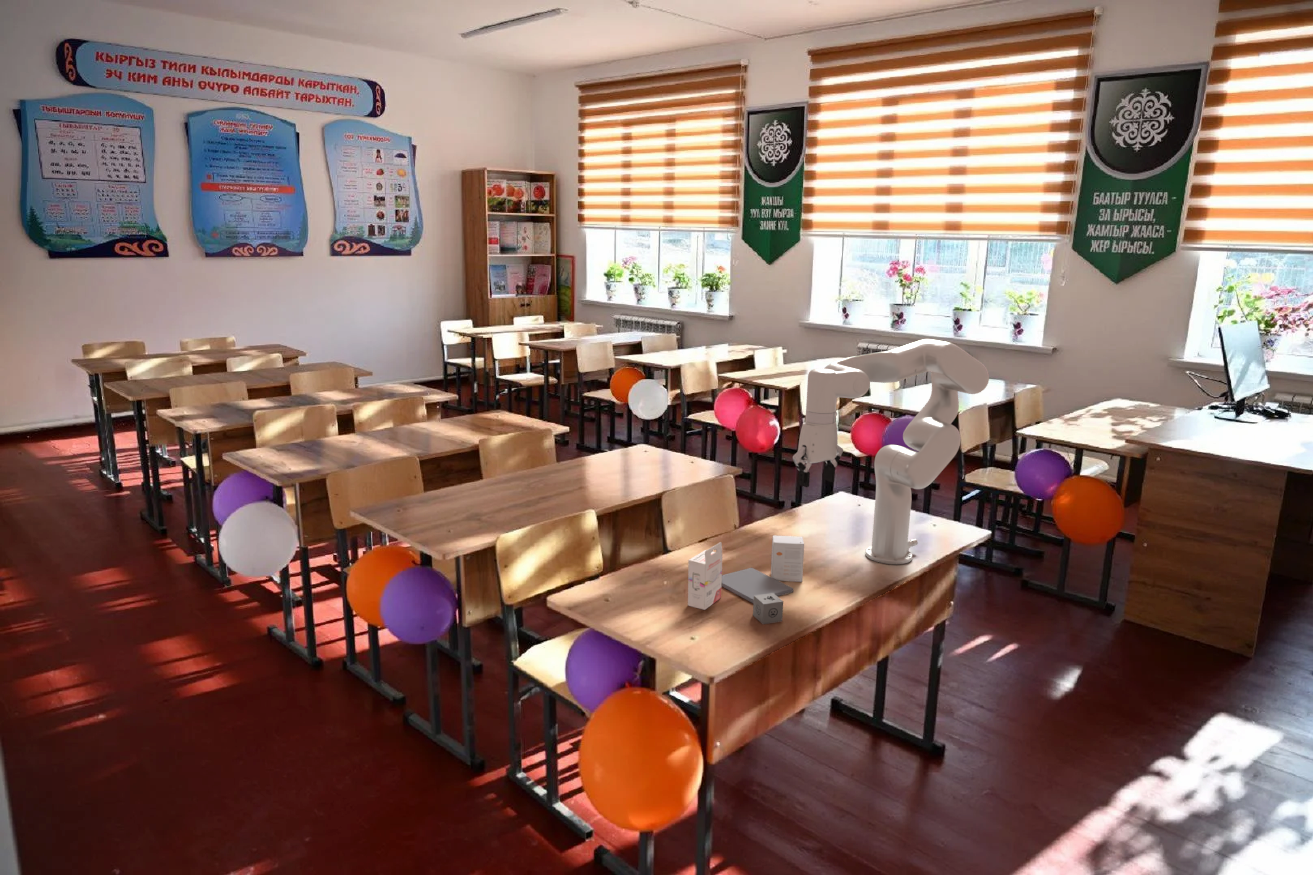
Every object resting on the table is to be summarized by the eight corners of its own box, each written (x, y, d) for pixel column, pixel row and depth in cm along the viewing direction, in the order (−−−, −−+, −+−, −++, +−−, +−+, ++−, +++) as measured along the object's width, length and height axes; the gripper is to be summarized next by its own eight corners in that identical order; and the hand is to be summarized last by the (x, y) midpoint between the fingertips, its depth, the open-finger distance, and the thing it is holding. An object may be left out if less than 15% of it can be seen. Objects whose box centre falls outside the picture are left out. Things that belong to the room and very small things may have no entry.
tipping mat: (751, 571, 228) (751, 567, 228) (793, 591, 215) (793, 588, 215) (712, 581, 221) (712, 577, 221) (753, 603, 208) (753, 599, 208)
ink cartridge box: (703, 593, 213) (705, 537, 210) (721, 598, 211) (723, 541, 207) (686, 605, 206) (687, 547, 203) (704, 610, 204) (706, 551, 200)
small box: (801, 574, 227) (803, 536, 224) (802, 582, 221) (804, 543, 219) (770, 572, 227) (772, 534, 225) (771, 580, 222) (773, 542, 219)
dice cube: (782, 621, 199) (783, 601, 198) (762, 624, 197) (763, 604, 196) (771, 612, 203) (773, 592, 202) (752, 615, 202) (753, 595, 200)
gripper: (834, 411, 228) (830, 475, 232) (784, 418, 218) (781, 484, 222) (855, 416, 221) (850, 482, 225) (805, 424, 212) (801, 492, 216)
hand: (816, 483), depth 224 cm, fingers open, 8 cm apart
